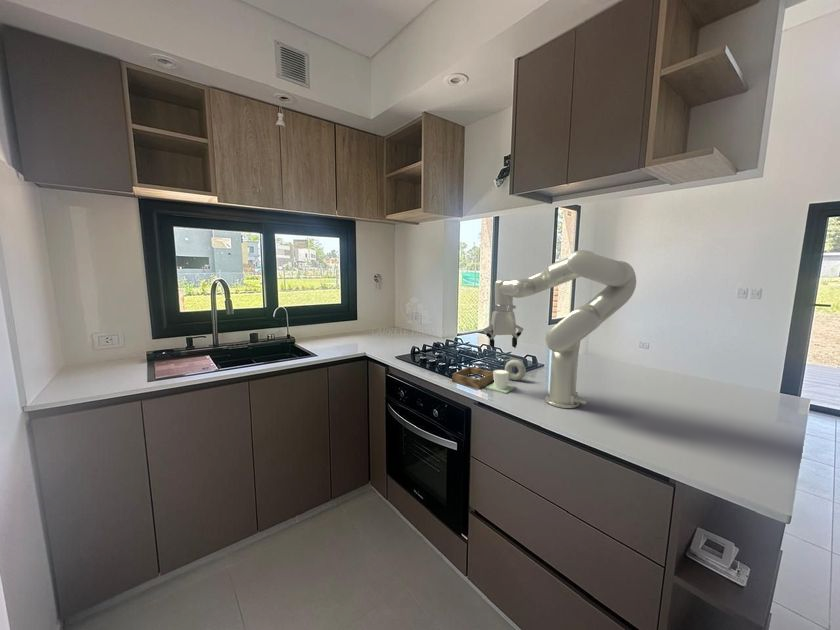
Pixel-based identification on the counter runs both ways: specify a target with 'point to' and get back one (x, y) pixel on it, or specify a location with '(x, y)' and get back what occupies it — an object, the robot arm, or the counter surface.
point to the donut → (520, 369)
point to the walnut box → (472, 382)
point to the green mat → (508, 389)
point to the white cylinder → (500, 379)
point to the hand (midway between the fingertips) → (503, 347)
